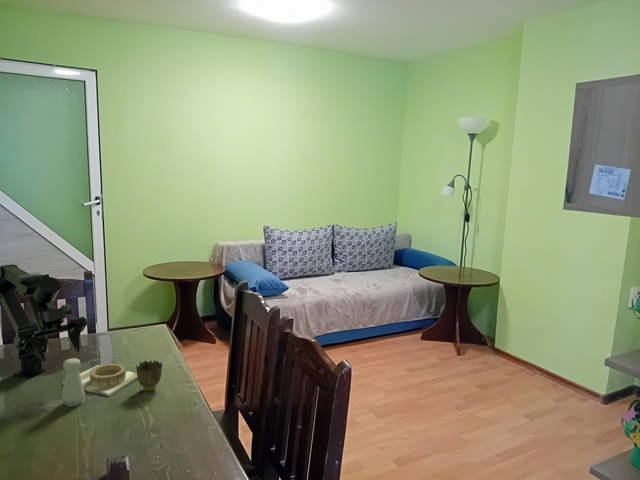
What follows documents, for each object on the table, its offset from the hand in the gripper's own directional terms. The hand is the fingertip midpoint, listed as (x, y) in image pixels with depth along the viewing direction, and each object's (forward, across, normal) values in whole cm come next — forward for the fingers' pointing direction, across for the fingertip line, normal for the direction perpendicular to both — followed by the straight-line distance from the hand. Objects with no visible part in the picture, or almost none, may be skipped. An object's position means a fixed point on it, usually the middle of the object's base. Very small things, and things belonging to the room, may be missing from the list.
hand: (62, 356), depth 133 cm
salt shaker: (+13, 0, +5) cm, 14 cm away
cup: (+19, +18, -2) cm, 27 cm away
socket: (+8, +12, +10) cm, 17 cm away
